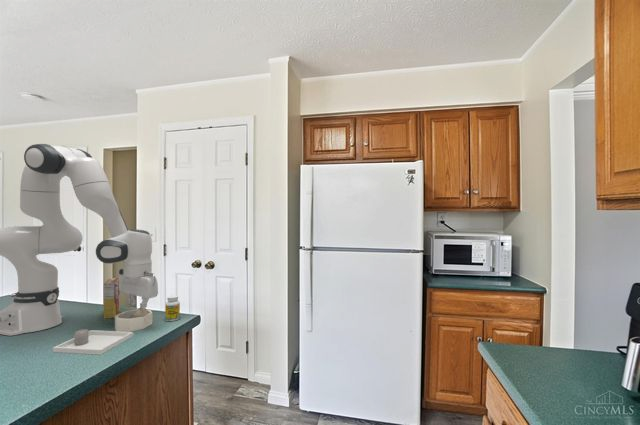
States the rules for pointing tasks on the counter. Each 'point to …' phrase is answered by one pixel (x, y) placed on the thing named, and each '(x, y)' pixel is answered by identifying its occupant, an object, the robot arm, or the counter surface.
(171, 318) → the supplement bottle
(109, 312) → the candy box
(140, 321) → the bowl
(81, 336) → the pebble
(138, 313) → the pebble
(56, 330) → the counter surface
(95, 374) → the counter surface
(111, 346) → the tray
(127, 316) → the grey rounded lump
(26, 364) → the counter surface
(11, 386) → the counter surface
